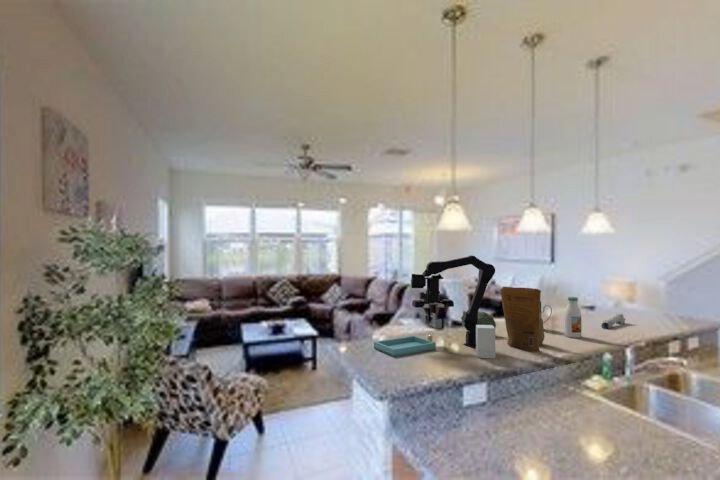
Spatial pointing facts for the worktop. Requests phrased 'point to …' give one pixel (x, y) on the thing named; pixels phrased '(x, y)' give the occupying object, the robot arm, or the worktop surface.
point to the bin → (404, 345)
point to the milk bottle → (572, 319)
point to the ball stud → (430, 338)
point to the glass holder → (543, 311)
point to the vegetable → (485, 319)
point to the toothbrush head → (613, 321)
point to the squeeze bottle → (541, 331)
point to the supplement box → (485, 341)
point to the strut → (432, 320)
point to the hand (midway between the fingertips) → (432, 321)
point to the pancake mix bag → (522, 317)
